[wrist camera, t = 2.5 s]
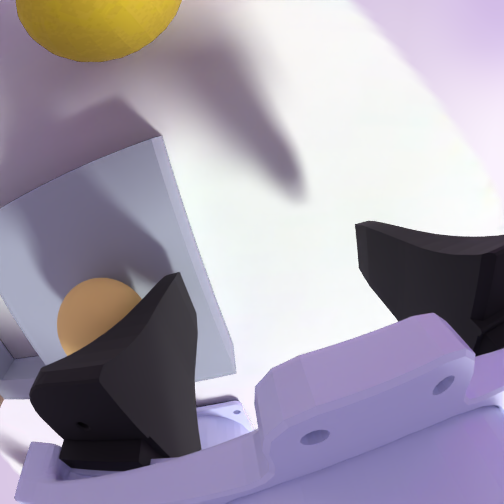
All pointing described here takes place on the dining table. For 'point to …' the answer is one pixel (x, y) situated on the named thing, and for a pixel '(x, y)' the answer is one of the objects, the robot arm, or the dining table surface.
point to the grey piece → (101, 254)
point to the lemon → (95, 25)
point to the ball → (92, 311)
